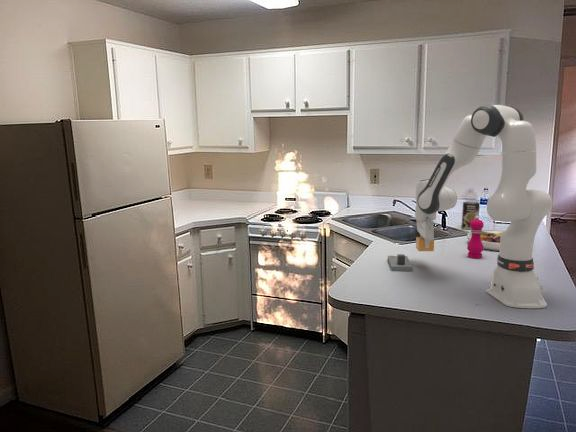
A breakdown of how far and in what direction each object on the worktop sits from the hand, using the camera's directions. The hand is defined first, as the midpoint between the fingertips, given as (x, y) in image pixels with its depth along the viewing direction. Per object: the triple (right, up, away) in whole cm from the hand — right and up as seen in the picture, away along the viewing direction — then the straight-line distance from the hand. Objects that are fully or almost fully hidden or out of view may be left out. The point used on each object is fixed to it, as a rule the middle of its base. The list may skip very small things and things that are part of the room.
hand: (424, 245), depth 207 cm
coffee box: (+49, +5, +73) cm, 88 cm away
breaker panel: (-10, -9, +4) cm, 14 cm away
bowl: (+49, -2, +36) cm, 61 cm away
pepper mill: (+29, -7, +15) cm, 33 cm away
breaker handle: (-11, -8, 0) cm, 13 cm away
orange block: (0, -2, 0) cm, 2 cm away
